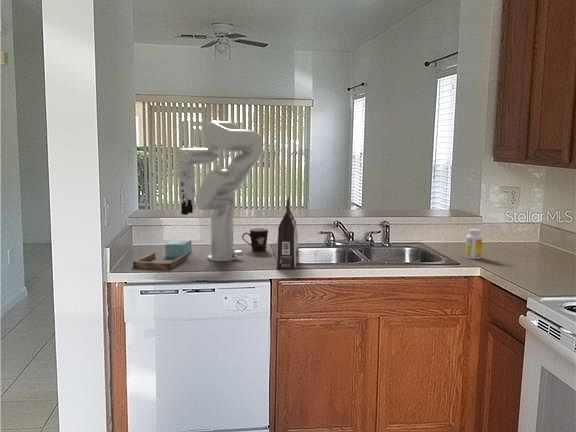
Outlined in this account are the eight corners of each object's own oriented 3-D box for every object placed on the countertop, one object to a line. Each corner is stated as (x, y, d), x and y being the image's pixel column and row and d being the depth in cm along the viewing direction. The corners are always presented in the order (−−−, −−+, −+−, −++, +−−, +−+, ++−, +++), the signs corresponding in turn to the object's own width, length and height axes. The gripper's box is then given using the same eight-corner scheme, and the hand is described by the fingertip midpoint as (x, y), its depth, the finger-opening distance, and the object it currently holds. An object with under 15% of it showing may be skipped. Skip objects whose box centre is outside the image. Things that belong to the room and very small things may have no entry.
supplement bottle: (481, 257, 237) (483, 229, 235) (480, 260, 231) (481, 231, 229) (466, 255, 240) (467, 227, 238) (464, 258, 234) (465, 230, 232)
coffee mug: (269, 249, 251) (269, 228, 250) (266, 252, 243) (266, 231, 241) (245, 248, 253) (245, 227, 251) (241, 251, 244) (241, 230, 243)
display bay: (187, 259, 227) (187, 254, 227) (170, 269, 209) (169, 263, 209) (152, 258, 230) (152, 252, 230) (133, 267, 212) (132, 261, 212)
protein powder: (297, 269, 211) (297, 200, 208) (275, 269, 212) (275, 200, 208) (298, 260, 228) (299, 196, 224) (278, 260, 228) (278, 196, 224)
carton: (191, 252, 244) (191, 239, 243) (184, 258, 232) (184, 244, 231) (173, 251, 245) (173, 239, 244) (165, 257, 233) (165, 244, 232)
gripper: (187, 176, 235) (187, 216, 238) (200, 174, 252) (201, 211, 254) (171, 175, 236) (172, 215, 239) (185, 173, 253) (186, 211, 255)
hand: (187, 213), depth 246 cm, fingers open, 4 cm apart
